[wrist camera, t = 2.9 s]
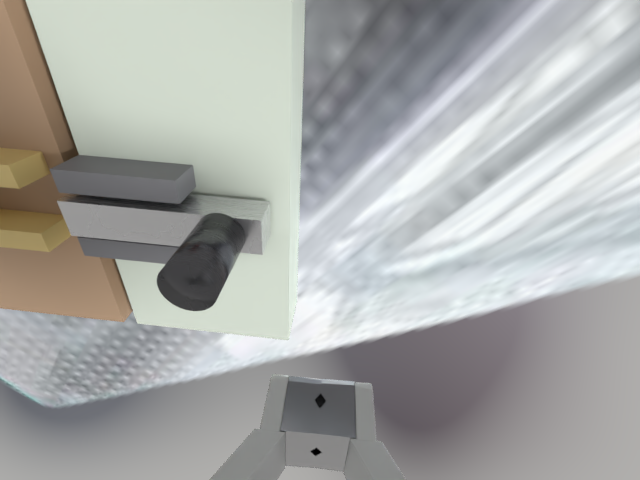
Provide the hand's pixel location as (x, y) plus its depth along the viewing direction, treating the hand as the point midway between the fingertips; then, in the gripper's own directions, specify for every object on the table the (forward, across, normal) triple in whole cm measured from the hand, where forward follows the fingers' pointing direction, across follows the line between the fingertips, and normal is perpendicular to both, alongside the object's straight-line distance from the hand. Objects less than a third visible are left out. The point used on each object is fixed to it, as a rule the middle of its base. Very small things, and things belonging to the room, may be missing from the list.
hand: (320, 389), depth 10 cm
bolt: (+10, +8, -1) cm, 13 cm away
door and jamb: (+14, +14, -1) cm, 20 cm away
